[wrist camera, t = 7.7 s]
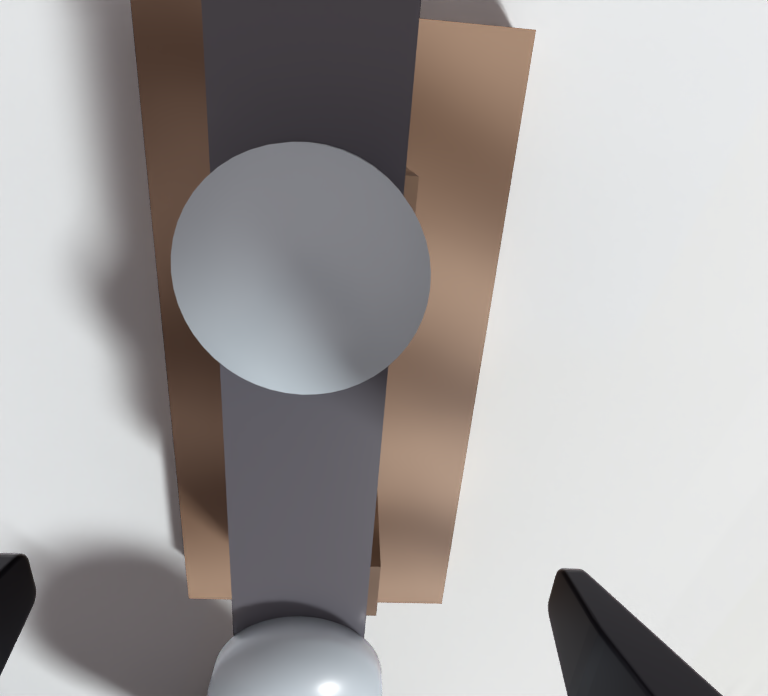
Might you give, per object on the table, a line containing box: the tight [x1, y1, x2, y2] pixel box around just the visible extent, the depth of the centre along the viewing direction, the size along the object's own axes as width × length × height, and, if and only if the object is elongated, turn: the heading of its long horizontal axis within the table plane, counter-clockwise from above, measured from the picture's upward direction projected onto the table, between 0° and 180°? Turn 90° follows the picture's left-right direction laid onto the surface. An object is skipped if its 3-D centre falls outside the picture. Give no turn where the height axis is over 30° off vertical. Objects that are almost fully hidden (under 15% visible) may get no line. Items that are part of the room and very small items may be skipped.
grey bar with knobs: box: [171, 0, 431, 696], centre depth 12 cm, size 18×4×5 cm, turn 176°
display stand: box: [130, 0, 536, 616], centre depth 15 cm, size 20×10×5 cm, turn 176°
